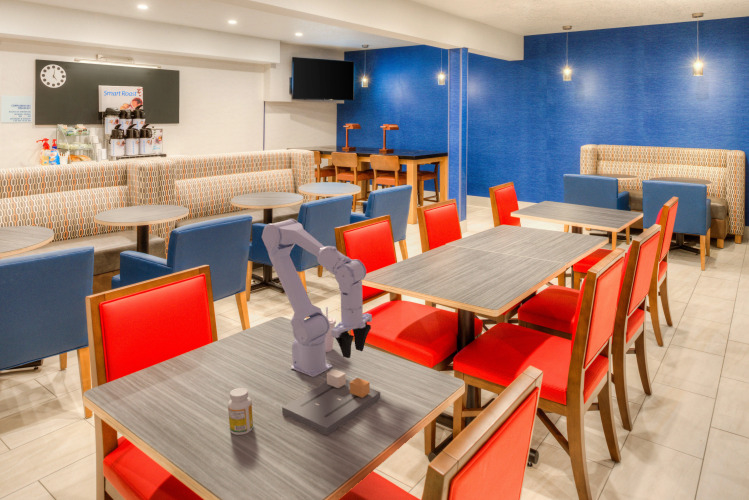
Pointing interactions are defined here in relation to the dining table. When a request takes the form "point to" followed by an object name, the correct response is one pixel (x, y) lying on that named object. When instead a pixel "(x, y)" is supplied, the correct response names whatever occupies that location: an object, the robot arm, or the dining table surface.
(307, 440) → the dining table surface
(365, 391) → the block
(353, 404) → the fader console
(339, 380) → the off white fader
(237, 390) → the supplement bottle
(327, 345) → the smoothie
